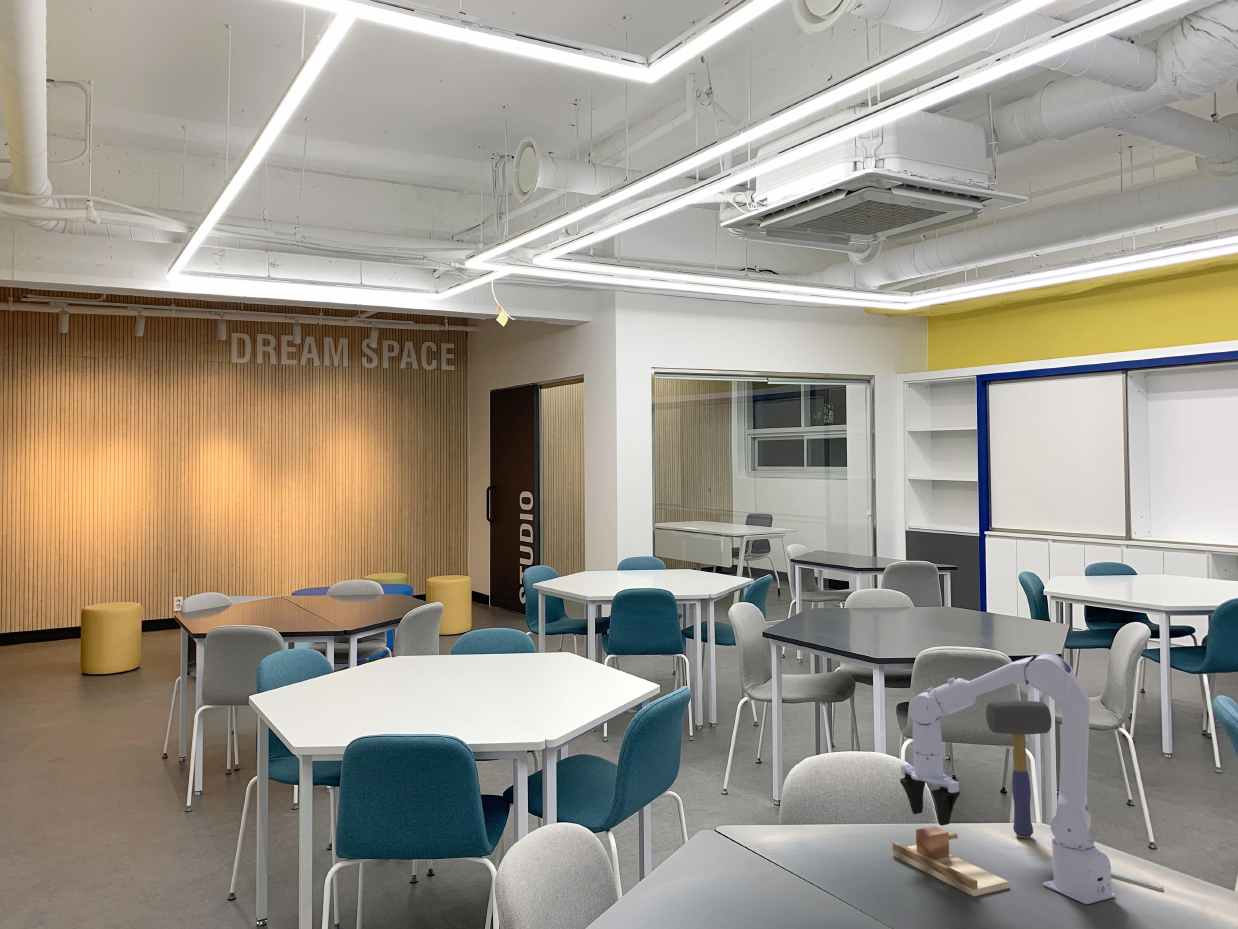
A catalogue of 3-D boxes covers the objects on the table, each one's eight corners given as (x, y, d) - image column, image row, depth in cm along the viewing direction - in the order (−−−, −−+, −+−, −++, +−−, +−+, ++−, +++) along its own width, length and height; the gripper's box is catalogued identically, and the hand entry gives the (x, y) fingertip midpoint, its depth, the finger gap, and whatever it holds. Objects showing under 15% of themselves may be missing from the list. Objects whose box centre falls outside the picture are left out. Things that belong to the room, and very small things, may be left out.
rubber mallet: (1001, 843, 186) (995, 703, 188) (988, 830, 194) (983, 697, 196) (1059, 843, 185) (1053, 704, 187) (1045, 831, 193) (1039, 697, 195)
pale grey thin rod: (1091, 873, 170) (1090, 868, 170) (1093, 871, 171) (1093, 866, 171) (1161, 893, 161) (1160, 888, 161) (1163, 891, 162) (1162, 886, 162)
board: (1009, 888, 163) (1008, 873, 163) (973, 896, 160) (973, 881, 160) (925, 848, 183) (925, 835, 183) (892, 855, 180) (892, 842, 180)
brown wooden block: (963, 853, 177) (962, 829, 178) (930, 861, 174) (929, 836, 174) (949, 847, 181) (948, 823, 181) (916, 854, 177) (915, 829, 178)
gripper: (888, 746, 183) (891, 811, 182) (938, 763, 170) (941, 832, 169) (914, 742, 186) (916, 806, 185) (965, 758, 172) (968, 827, 171)
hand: (930, 818), depth 177 cm, fingers open, 7 cm apart
